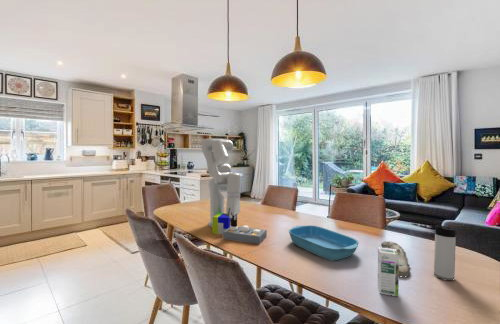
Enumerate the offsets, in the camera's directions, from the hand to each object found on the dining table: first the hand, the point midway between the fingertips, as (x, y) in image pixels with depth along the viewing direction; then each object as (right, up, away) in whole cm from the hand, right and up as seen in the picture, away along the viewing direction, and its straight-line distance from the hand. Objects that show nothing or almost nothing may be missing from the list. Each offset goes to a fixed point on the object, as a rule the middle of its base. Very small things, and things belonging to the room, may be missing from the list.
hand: (234, 226), depth 142 cm
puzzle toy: (-7, -6, +10) cm, 14 cm away
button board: (+6, -6, -2) cm, 9 cm away
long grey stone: (+75, -8, -30) cm, 81 cm away
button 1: (0, -3, 0) cm, 4 cm away
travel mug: (+85, -8, -46) cm, 97 cm away
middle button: (+6, -3, -2) cm, 7 cm away
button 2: (+13, -5, -5) cm, 14 cm away
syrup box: (+57, -8, -56) cm, 80 cm away
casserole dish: (+46, -7, -17) cm, 49 cm away
